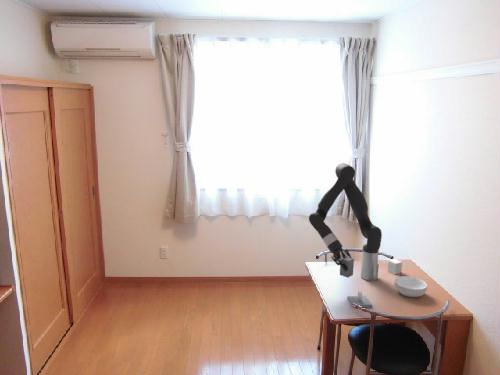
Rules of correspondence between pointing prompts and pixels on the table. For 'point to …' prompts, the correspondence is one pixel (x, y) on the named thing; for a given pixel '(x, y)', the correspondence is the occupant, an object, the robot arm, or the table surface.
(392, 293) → the table surface
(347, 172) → the robot arm
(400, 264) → the product box
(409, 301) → the table surface
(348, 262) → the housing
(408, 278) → the cereal bowl
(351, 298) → the stub base
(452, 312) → the table surface
